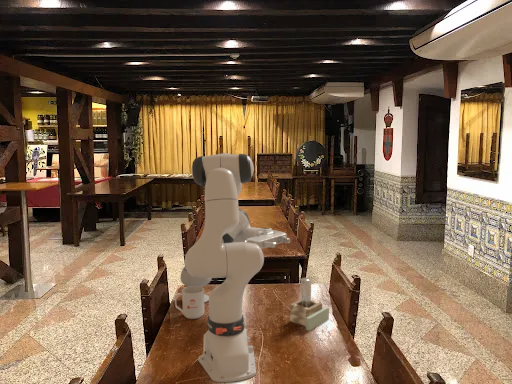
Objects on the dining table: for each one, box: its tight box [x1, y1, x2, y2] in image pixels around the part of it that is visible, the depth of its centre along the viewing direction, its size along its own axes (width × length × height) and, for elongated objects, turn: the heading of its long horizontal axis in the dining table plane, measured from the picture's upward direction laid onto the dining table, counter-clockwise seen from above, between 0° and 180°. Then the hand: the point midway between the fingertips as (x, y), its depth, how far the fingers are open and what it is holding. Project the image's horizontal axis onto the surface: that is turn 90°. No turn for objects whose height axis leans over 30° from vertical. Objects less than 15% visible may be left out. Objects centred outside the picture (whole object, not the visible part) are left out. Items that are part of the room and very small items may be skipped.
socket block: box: [289, 298, 323, 327], centre depth 175 cm, size 9×9×7 cm
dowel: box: [300, 277, 312, 308], centre depth 174 cm, size 4×4×14 cm
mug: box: [174, 286, 205, 320], centre depth 181 cm, size 12×9×11 cm
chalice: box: [179, 266, 213, 304], centre depth 198 cm, size 14×14×15 cm
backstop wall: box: [305, 306, 330, 332], centre depth 172 cm, size 2×14×5 cm, turn 139°
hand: (282, 243), depth 180 cm, fingers open, 8 cm apart
